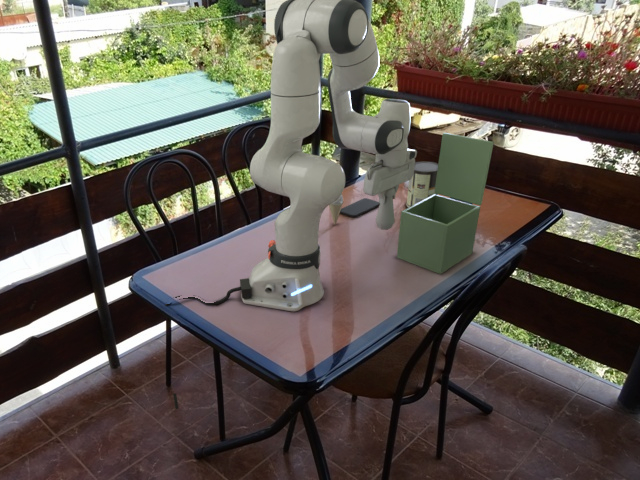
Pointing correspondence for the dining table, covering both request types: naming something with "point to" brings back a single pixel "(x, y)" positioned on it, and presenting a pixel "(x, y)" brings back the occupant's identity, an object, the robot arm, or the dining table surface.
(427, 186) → the coffee can
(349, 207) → the phone
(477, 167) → the lid
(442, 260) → the box
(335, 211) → the ice cream cone
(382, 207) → the salt shaker
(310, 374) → the dining table surface
